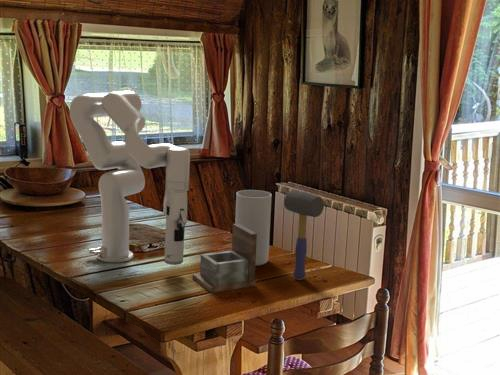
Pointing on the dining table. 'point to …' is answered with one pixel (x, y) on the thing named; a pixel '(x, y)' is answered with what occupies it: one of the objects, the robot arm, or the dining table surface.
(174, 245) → the travel mug
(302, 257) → the rubber mallet
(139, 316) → the dining table surface
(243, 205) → the cylinder vase
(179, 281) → the dining table surface
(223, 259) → the post holder
